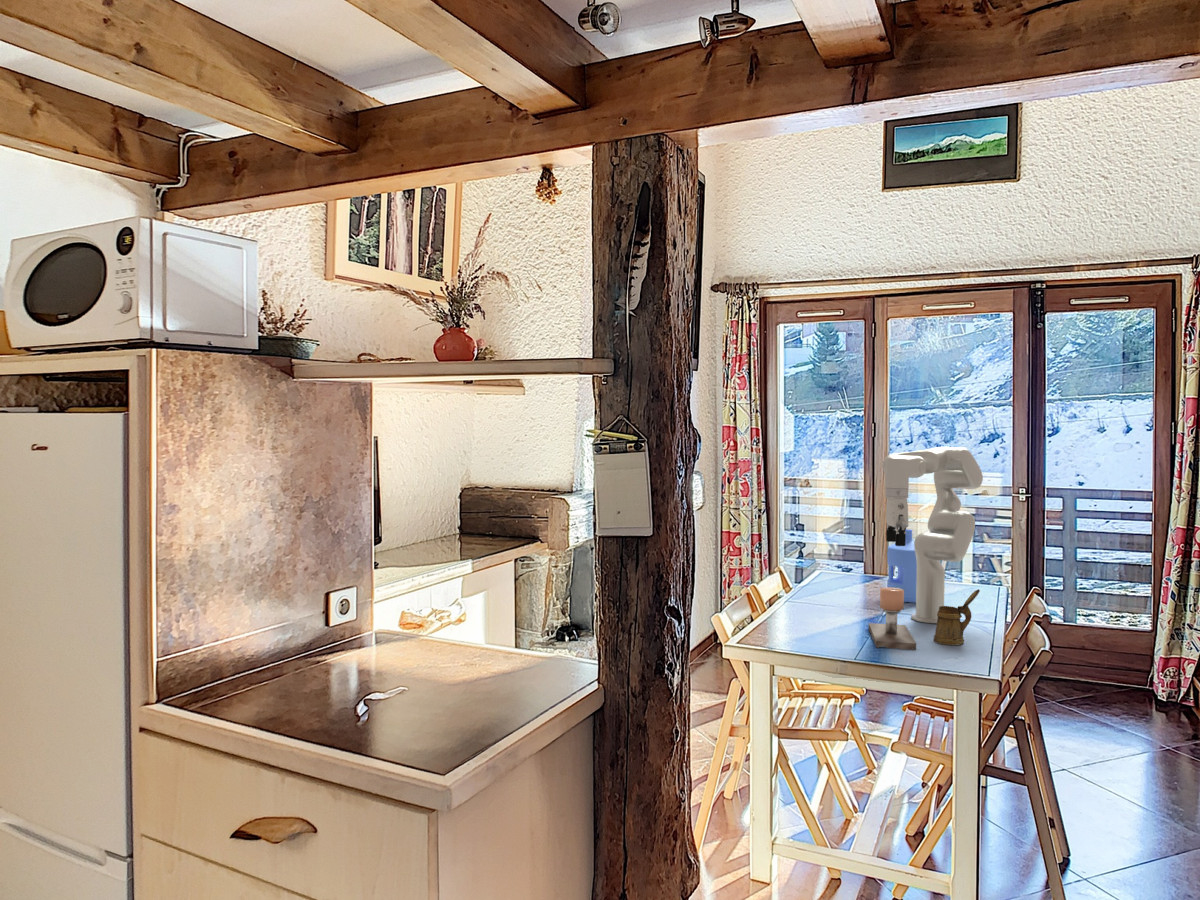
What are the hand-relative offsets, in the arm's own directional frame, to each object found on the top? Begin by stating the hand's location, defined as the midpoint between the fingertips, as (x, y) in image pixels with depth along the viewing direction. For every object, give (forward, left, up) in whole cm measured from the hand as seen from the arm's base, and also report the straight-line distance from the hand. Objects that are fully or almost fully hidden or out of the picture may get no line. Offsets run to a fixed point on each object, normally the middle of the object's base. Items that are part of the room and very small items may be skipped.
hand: (895, 543), depth 283 cm
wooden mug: (-18, +9, -31) cm, 37 cm away
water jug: (-12, -57, -31) cm, 66 cm away
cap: (+2, +9, -20) cm, 22 cm away
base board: (+2, +9, -30) cm, 32 cm away
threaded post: (+2, +9, -28) cm, 30 cm away
